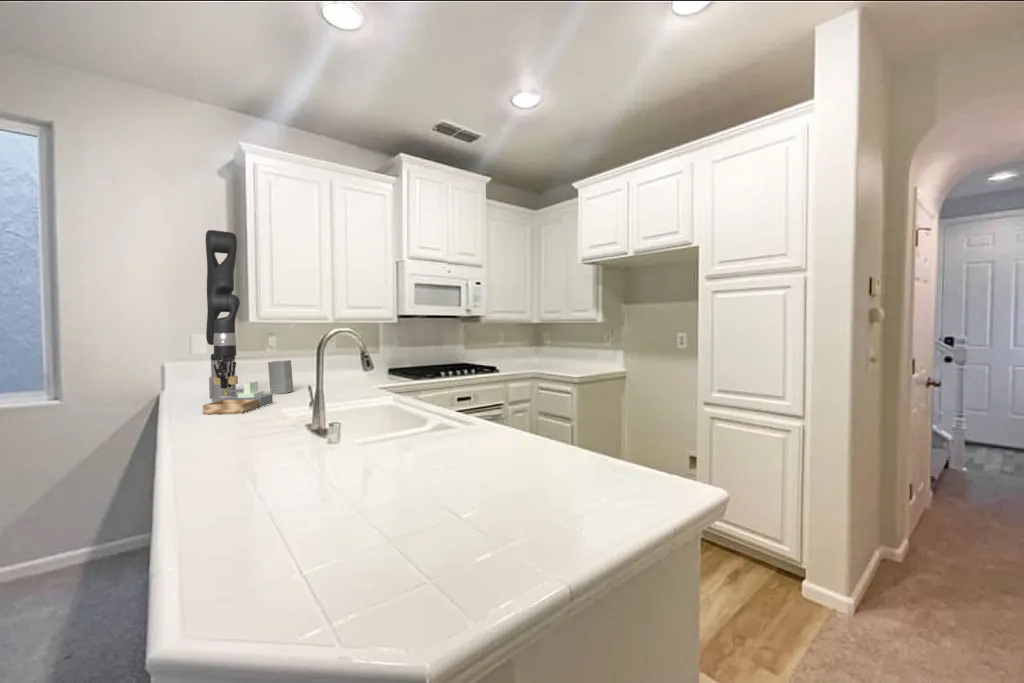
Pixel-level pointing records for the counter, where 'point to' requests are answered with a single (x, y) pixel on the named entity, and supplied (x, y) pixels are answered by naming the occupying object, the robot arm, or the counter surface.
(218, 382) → the key
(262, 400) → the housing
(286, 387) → the skincare box
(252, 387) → the cover
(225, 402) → the tray
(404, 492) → the counter surface
